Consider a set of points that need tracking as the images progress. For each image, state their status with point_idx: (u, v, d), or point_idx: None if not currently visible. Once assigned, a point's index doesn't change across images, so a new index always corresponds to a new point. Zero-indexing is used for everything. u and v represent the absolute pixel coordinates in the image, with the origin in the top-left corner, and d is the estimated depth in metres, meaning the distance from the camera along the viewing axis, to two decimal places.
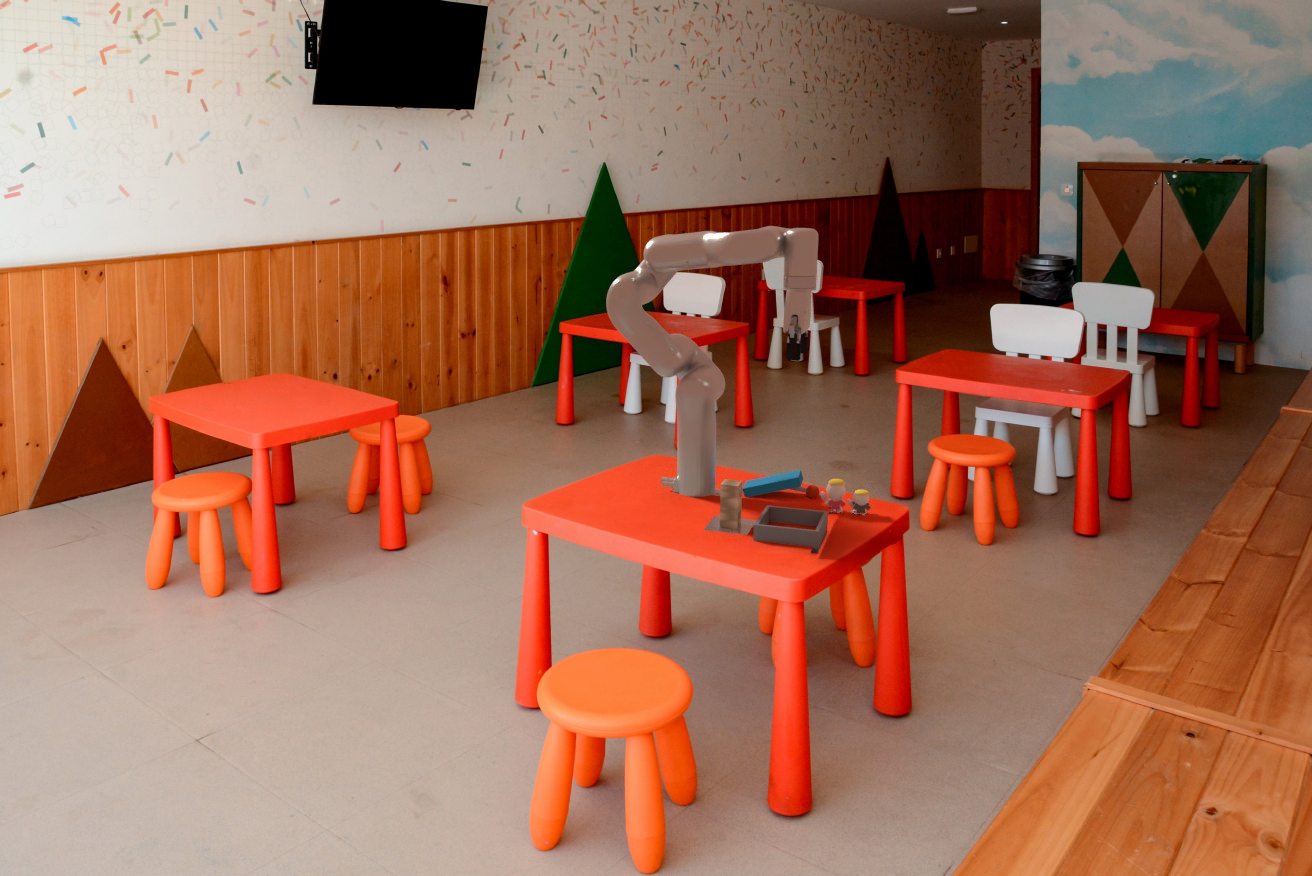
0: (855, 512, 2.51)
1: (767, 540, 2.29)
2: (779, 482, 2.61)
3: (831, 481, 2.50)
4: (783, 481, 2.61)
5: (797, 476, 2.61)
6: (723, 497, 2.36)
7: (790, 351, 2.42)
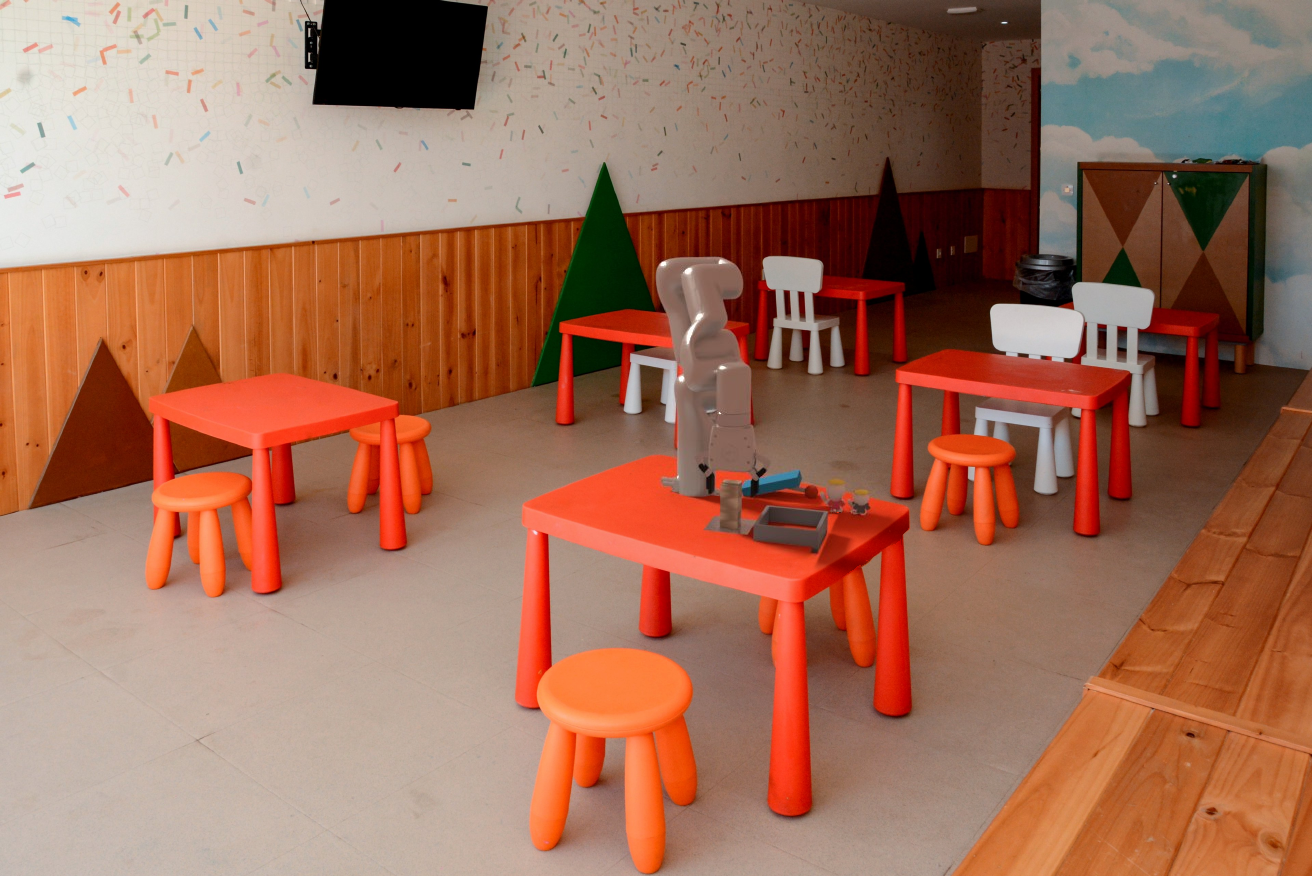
0: (855, 512, 2.51)
1: (767, 540, 2.29)
2: (778, 482, 2.61)
3: (831, 481, 2.50)
4: (782, 481, 2.61)
5: (796, 476, 2.61)
6: (723, 497, 2.36)
7: (757, 487, 2.34)
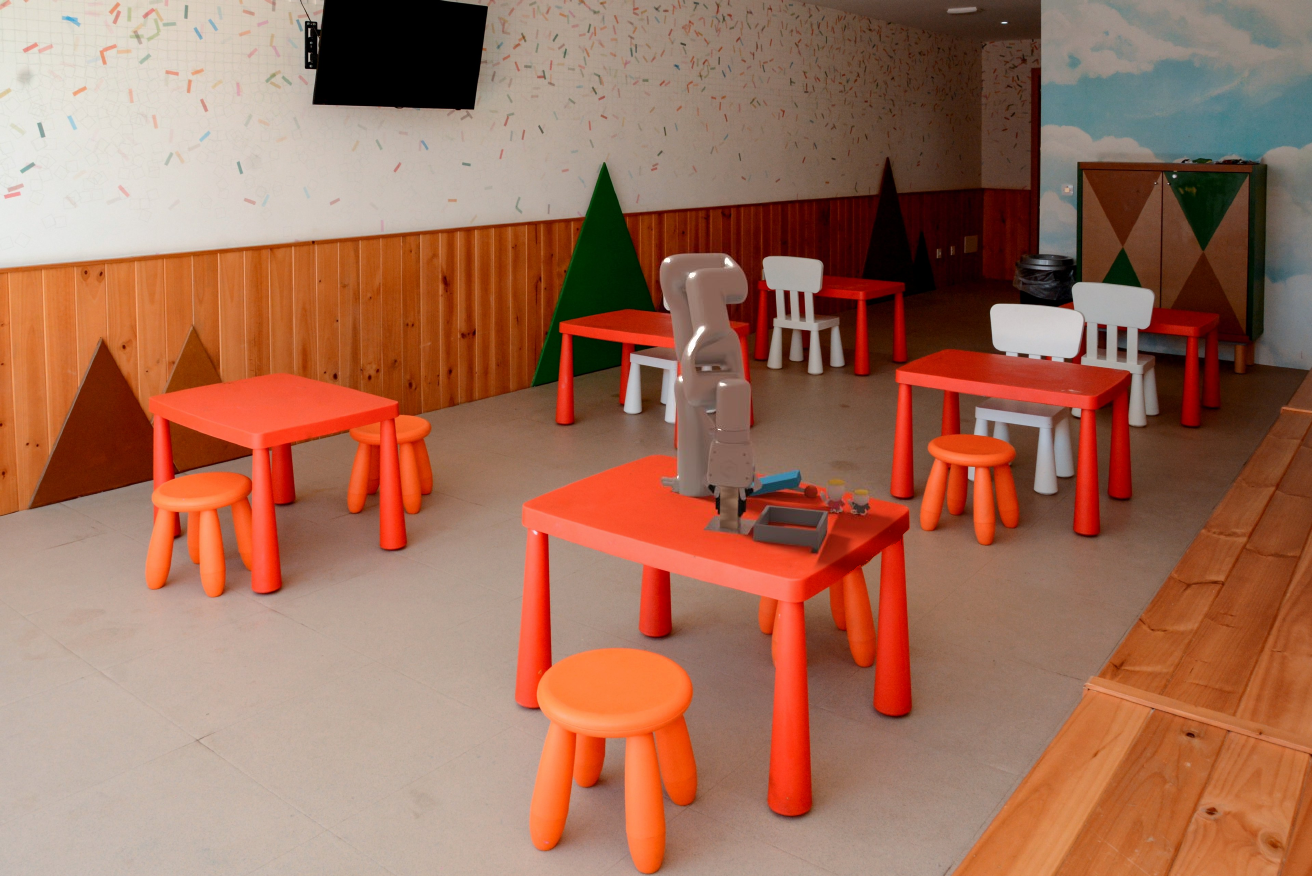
0: (855, 512, 2.51)
1: (767, 540, 2.29)
2: (777, 482, 2.61)
3: (831, 481, 2.50)
4: (781, 481, 2.61)
5: (795, 476, 2.61)
6: (723, 497, 2.36)
7: (745, 507, 2.37)
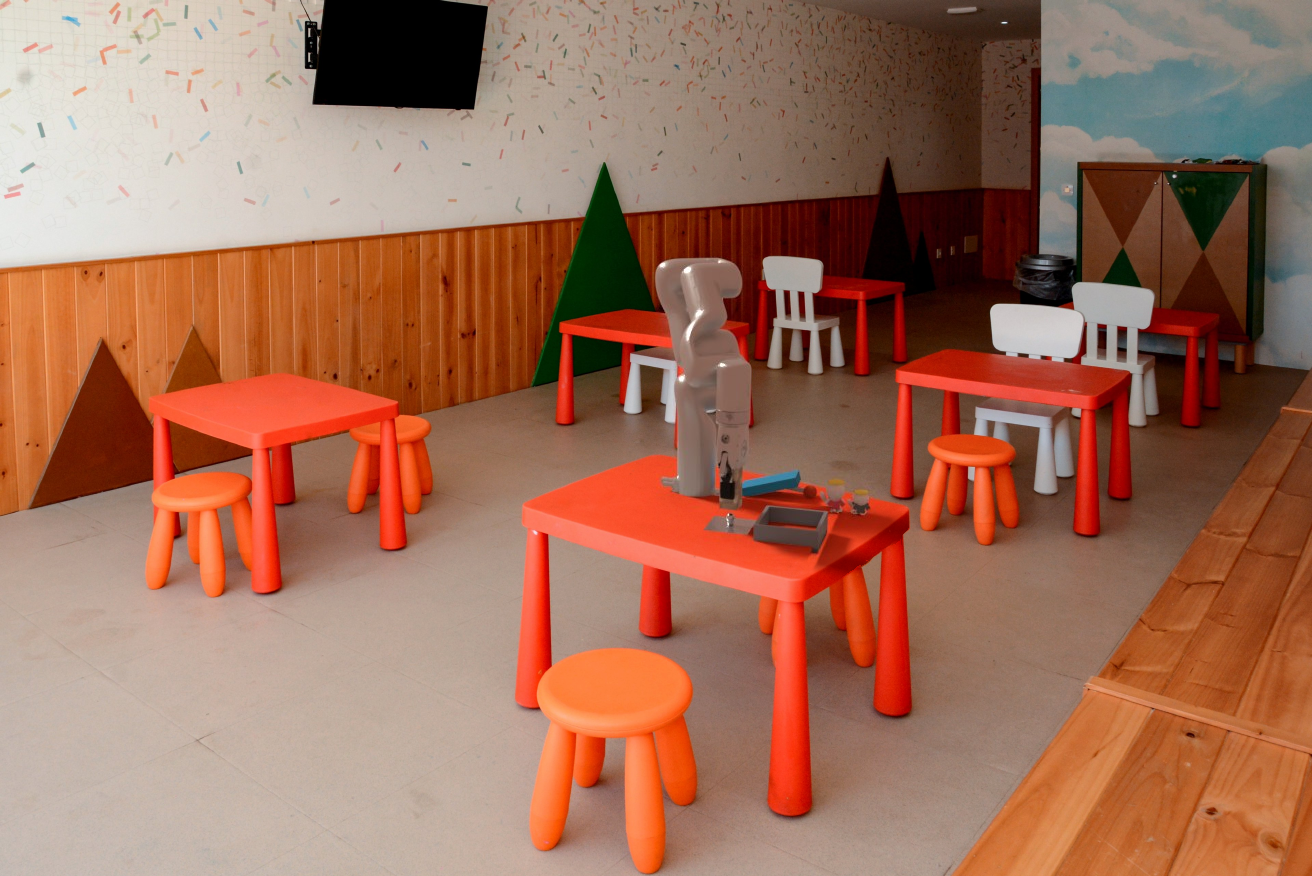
0: (855, 512, 2.51)
1: (767, 540, 2.29)
2: (776, 482, 2.61)
3: (831, 481, 2.50)
4: (780, 481, 2.61)
5: (794, 476, 2.61)
6: (738, 479, 2.35)
7: None
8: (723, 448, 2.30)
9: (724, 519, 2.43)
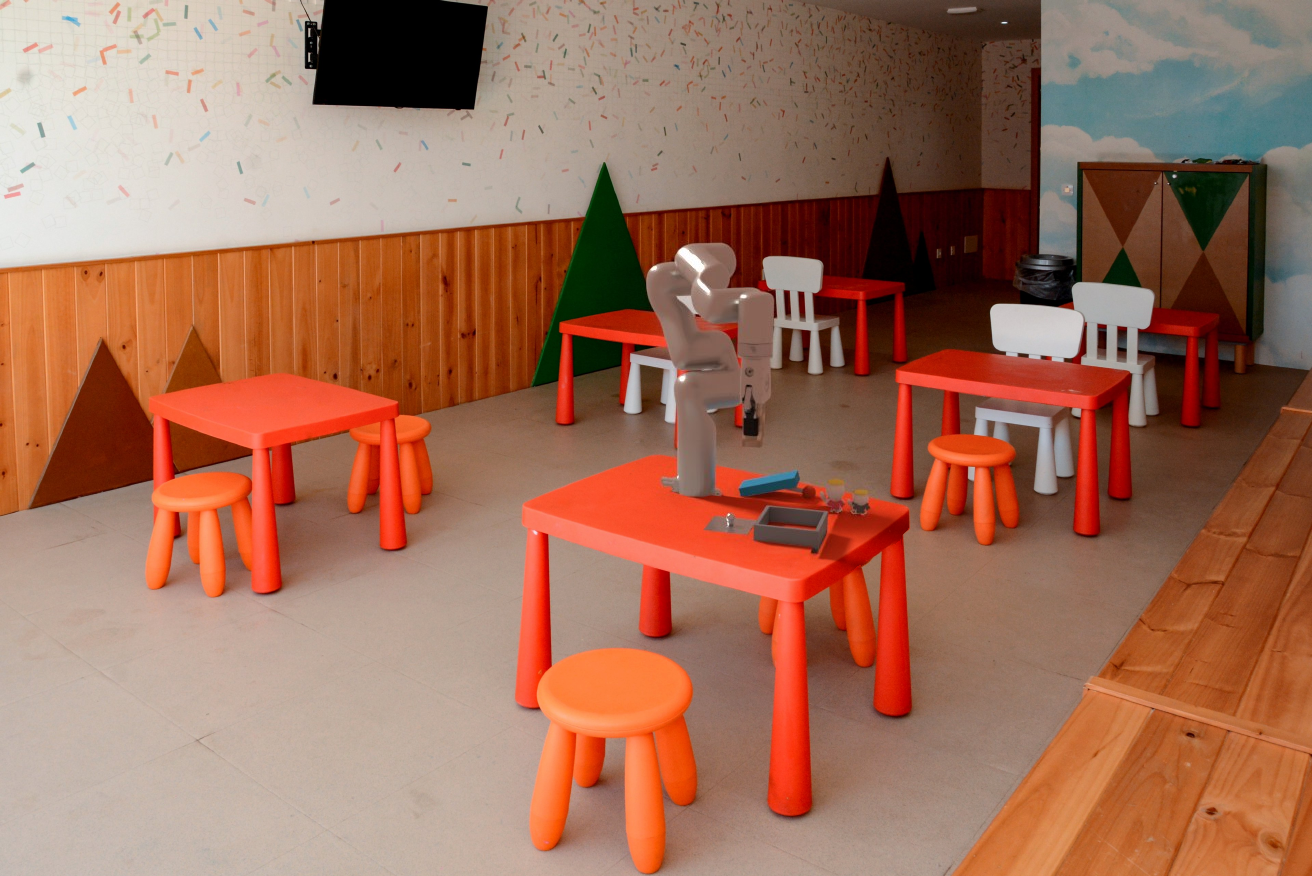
0: (855, 512, 2.51)
1: (767, 540, 2.29)
2: (775, 482, 2.61)
3: (830, 481, 2.50)
4: (779, 481, 2.61)
5: (793, 476, 2.61)
6: (761, 415, 2.29)
7: None
8: (747, 382, 2.24)
9: (724, 519, 2.43)
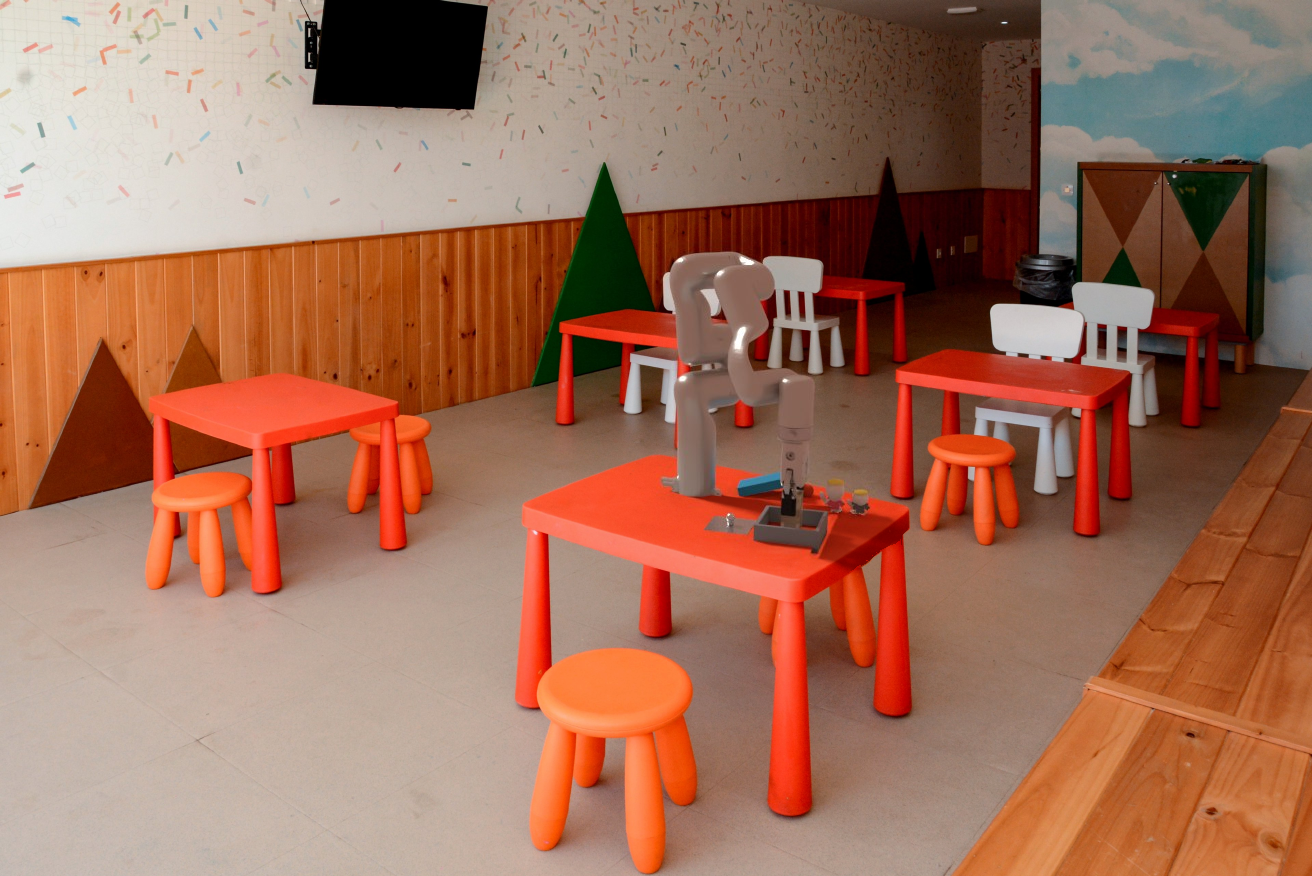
0: (854, 512, 2.51)
1: (767, 540, 2.29)
2: (774, 481, 2.62)
3: (830, 481, 2.50)
4: (778, 480, 2.62)
5: None
6: (800, 507, 2.31)
7: None
8: (787, 465, 2.26)
9: (724, 519, 2.43)
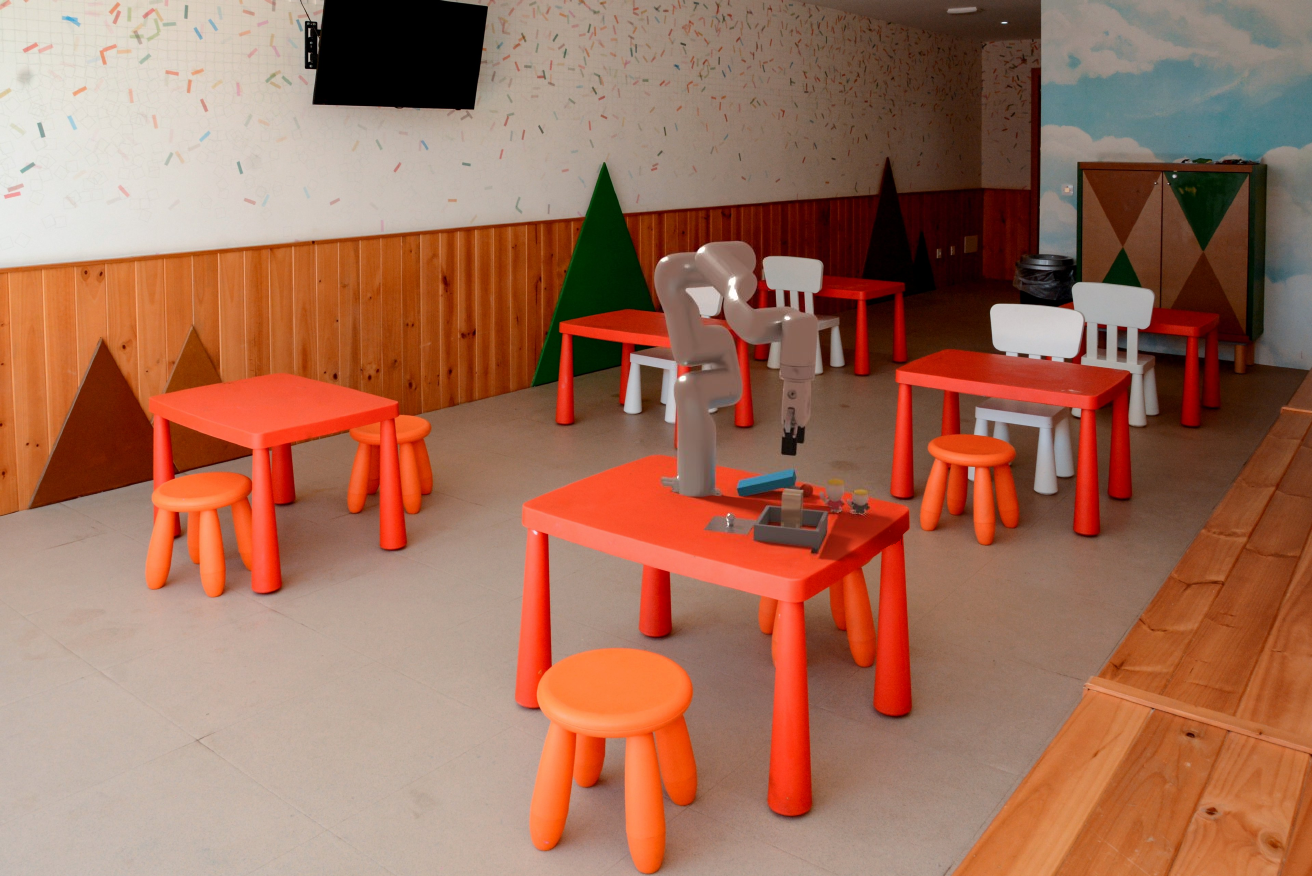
0: (854, 512, 2.51)
1: (767, 540, 2.29)
2: (773, 481, 2.62)
3: (830, 481, 2.50)
4: (777, 480, 2.62)
5: (791, 475, 2.62)
6: (800, 507, 2.31)
7: None
8: (789, 404, 2.22)
9: (724, 519, 2.43)
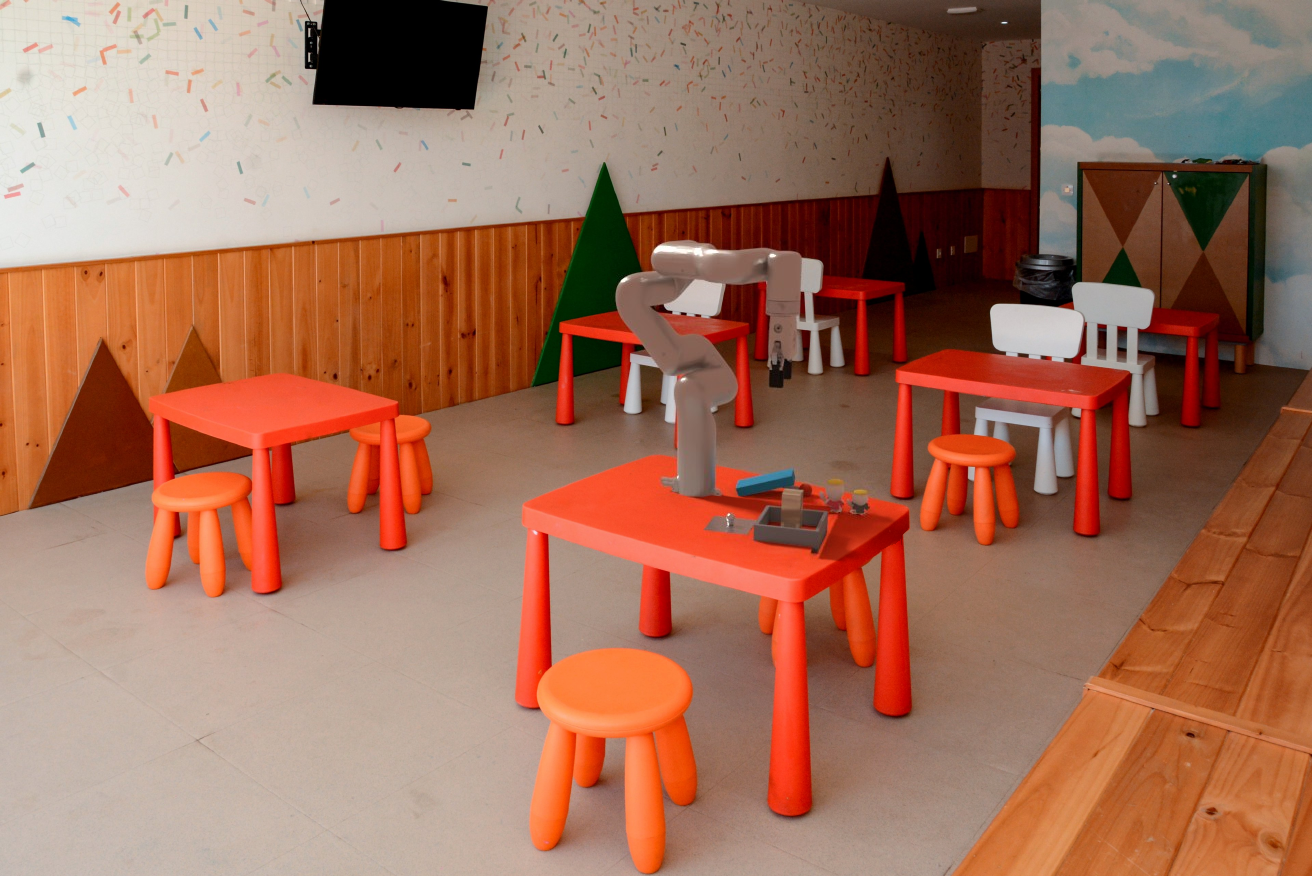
0: (854, 512, 2.51)
1: (767, 540, 2.29)
2: (773, 481, 2.62)
3: (830, 481, 2.50)
4: (777, 480, 2.62)
5: (790, 475, 2.62)
6: (800, 507, 2.31)
7: None
8: (775, 338, 2.33)
9: (724, 519, 2.43)
